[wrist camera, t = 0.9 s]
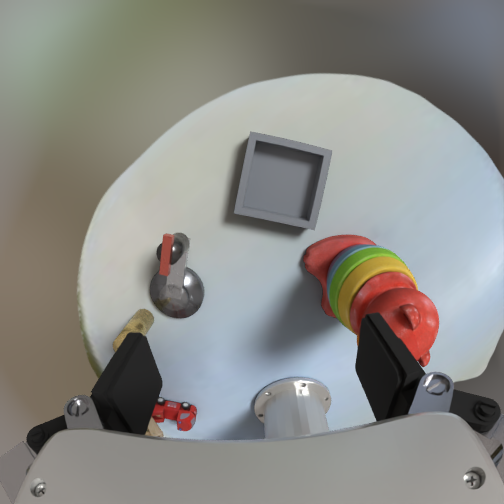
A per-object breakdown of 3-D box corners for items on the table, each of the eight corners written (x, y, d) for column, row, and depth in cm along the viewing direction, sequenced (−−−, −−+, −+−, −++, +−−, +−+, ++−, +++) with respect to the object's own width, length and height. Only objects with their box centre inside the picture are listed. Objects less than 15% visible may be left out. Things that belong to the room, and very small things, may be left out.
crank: (187, 309, 34) (175, 335, 28) (160, 303, 34) (144, 328, 28) (198, 227, 31) (185, 239, 25) (169, 221, 31) (150, 232, 25)
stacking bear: (297, 249, 33) (336, 325, 16) (370, 216, 32) (461, 258, 15) (326, 319, 36) (368, 416, 19) (391, 288, 35) (464, 361, 18)
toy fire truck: (197, 415, 42) (188, 457, 33) (125, 399, 42) (107, 435, 32) (198, 403, 41) (188, 447, 32) (123, 387, 41) (102, 424, 31)
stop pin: (153, 328, 37) (133, 361, 29) (135, 323, 37) (113, 354, 29) (154, 311, 36) (133, 343, 28) (136, 306, 36) (112, 336, 28)
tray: (310, 225, 33) (314, 230, 30) (235, 210, 32) (233, 213, 30) (326, 152, 30) (332, 150, 28) (250, 134, 30) (250, 131, 27)
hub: (200, 318, 36) (199, 323, 35) (151, 307, 36) (148, 311, 35) (207, 270, 34) (206, 274, 33) (155, 259, 34) (151, 262, 33)
